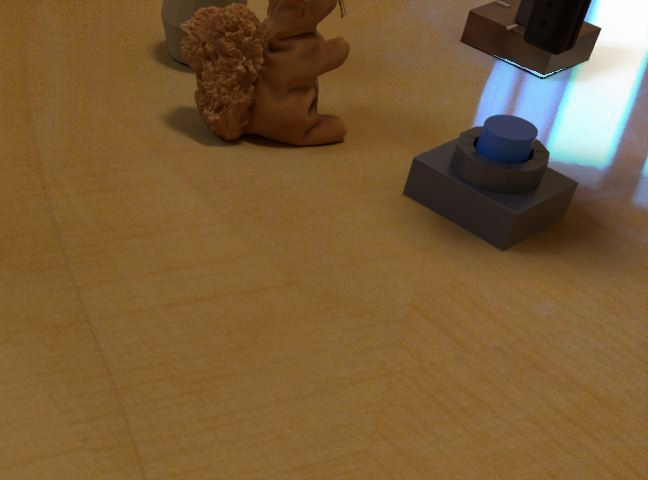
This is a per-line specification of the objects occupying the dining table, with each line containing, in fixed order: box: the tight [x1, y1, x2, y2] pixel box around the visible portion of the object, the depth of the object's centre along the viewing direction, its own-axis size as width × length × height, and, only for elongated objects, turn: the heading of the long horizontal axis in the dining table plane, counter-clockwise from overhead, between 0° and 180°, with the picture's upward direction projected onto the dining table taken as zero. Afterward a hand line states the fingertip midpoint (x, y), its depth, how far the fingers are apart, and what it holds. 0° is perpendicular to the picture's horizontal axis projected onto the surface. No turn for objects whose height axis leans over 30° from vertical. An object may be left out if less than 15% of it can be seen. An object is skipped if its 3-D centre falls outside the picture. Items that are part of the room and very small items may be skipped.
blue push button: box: [476, 114, 539, 163], centre depth 76 cm, size 4×4×2 cm
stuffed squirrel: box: [179, 0, 351, 146], centre depth 83 cm, size 10×14×13 cm
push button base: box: [402, 125, 579, 252], centre depth 79 cm, size 10×8×5 cm
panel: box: [460, 0, 602, 75], centre depth 99 cm, size 10×9×3 cm
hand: (547, 45), depth 71 cm, fingers closed
